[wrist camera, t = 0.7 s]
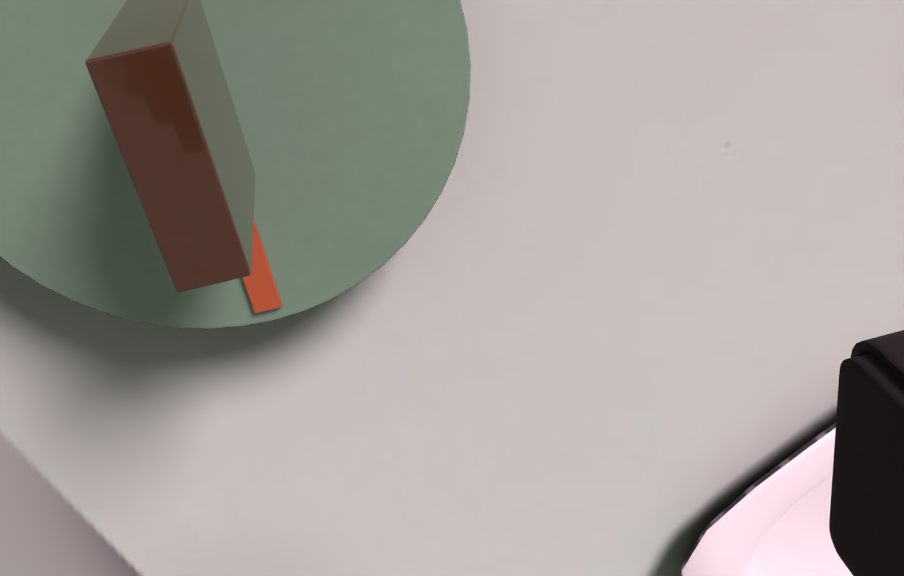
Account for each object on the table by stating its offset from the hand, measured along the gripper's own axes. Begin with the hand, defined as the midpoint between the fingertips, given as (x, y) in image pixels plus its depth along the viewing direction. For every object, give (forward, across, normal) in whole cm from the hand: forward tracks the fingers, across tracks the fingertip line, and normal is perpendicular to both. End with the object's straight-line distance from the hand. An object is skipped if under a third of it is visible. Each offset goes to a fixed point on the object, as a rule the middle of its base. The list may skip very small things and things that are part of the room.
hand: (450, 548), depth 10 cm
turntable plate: (+16, +4, -1) cm, 17 cm away
